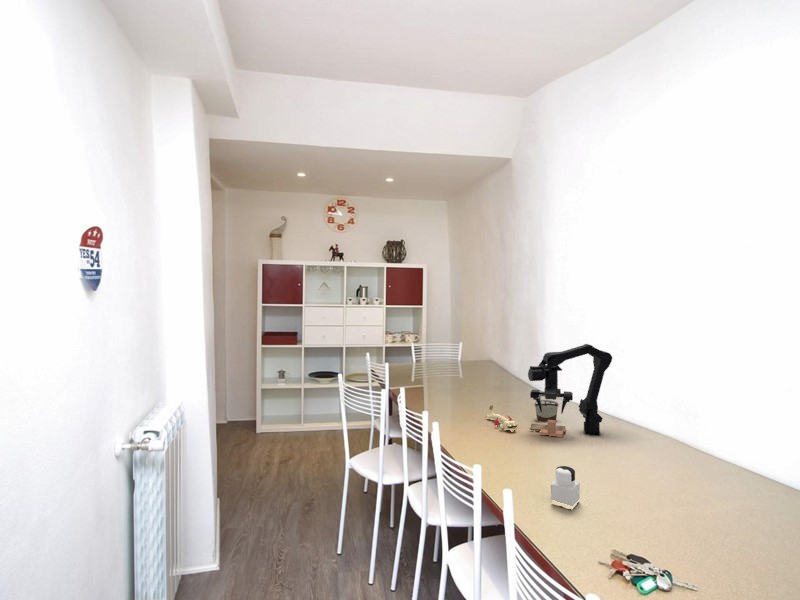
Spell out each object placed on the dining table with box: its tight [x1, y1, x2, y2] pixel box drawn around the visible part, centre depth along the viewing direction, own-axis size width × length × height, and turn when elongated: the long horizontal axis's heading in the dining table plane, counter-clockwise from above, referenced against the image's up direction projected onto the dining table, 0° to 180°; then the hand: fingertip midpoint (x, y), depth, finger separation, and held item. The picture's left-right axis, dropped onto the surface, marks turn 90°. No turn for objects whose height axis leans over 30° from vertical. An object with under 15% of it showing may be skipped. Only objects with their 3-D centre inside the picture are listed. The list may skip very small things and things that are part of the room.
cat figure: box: [485, 405, 519, 431], centre depth 238 cm, size 10×9×25 cm
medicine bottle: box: [550, 465, 581, 506], centre depth 156 cm, size 7×7×12 cm
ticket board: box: [529, 422, 567, 435], centre depth 229 cm, size 17×8×2 cm, turn 70°
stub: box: [539, 419, 564, 438], centre depth 222 cm, size 10×4×6 cm, turn 70°
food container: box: [533, 399, 560, 423], centre depth 245 cm, size 12×6×10 cm, turn 84°
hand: (551, 412), depth 222 cm, fingers open, 9 cm apart
